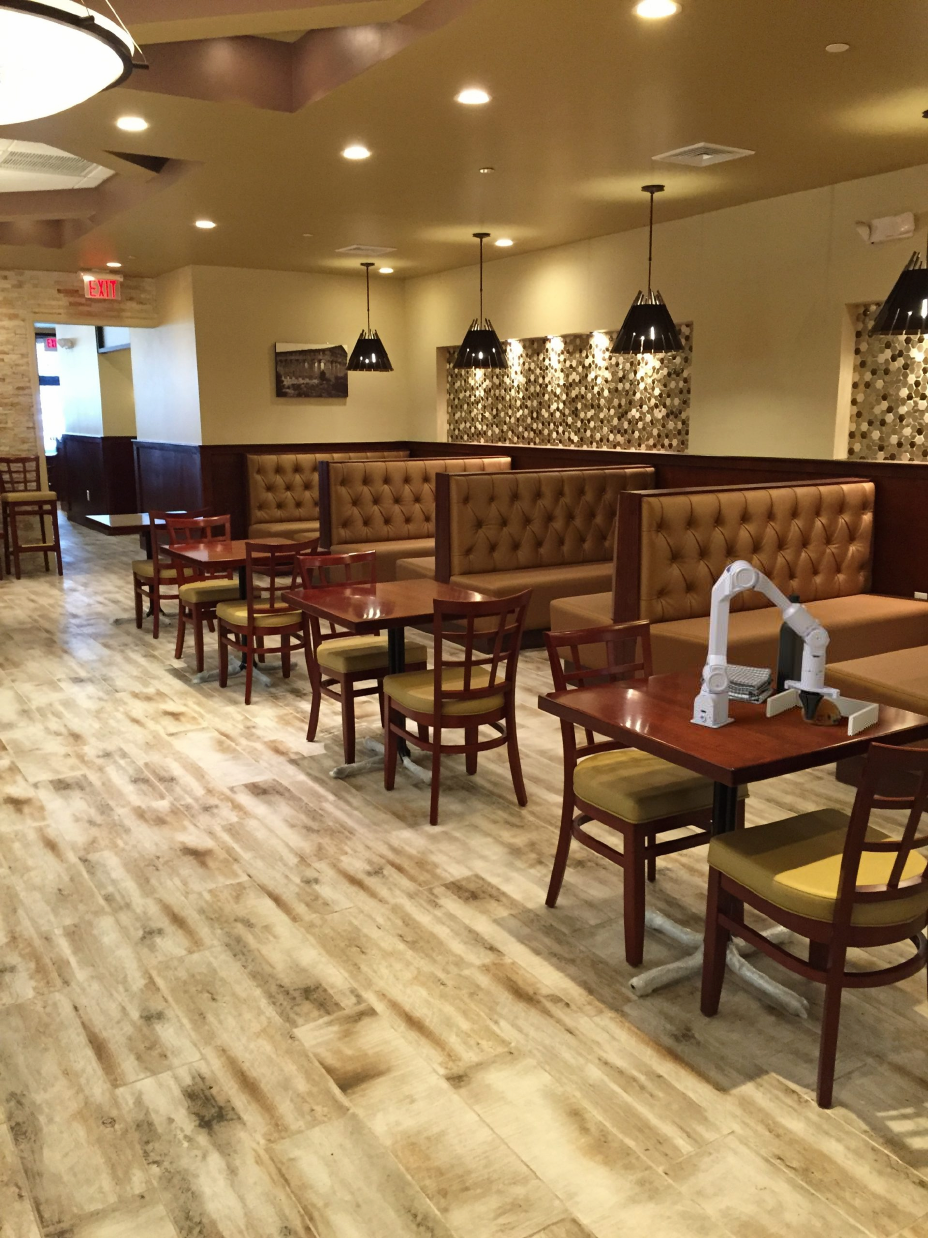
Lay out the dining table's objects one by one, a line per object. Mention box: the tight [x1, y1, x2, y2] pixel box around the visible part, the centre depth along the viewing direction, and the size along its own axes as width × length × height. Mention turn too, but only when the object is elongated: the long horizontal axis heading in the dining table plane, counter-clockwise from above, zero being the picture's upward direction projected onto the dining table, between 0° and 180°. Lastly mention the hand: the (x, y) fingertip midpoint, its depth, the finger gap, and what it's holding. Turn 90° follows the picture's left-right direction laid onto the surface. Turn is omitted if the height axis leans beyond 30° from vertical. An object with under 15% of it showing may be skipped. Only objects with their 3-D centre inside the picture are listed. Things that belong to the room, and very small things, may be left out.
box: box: [766, 689, 880, 737], centre depth 270 cm, size 16×24×5 cm, turn 45°
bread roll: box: [800, 698, 842, 727], centre depth 269 cm, size 10×10×8 cm
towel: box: [699, 663, 774, 705], centre depth 294 cm, size 15×18×8 cm
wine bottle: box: [775, 593, 805, 695], centre depth 291 cm, size 6×6×30 cm
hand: (809, 718), depth 265 cm, fingers closed
